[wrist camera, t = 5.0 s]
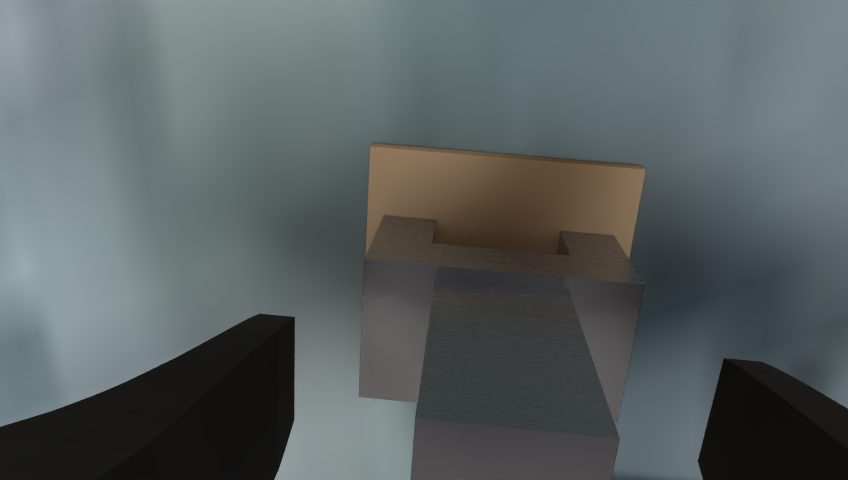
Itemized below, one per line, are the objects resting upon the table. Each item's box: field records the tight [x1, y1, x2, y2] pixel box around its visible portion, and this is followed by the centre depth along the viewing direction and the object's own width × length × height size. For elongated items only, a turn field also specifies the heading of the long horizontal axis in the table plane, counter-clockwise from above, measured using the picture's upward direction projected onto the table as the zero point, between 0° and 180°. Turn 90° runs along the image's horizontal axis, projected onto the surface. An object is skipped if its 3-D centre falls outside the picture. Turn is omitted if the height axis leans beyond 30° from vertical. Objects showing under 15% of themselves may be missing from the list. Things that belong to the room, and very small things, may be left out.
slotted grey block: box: [359, 215, 645, 480], centre depth 12 cm, size 3×5×7 cm, turn 86°
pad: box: [366, 143, 646, 258], centre depth 16 cm, size 6×6×1 cm
